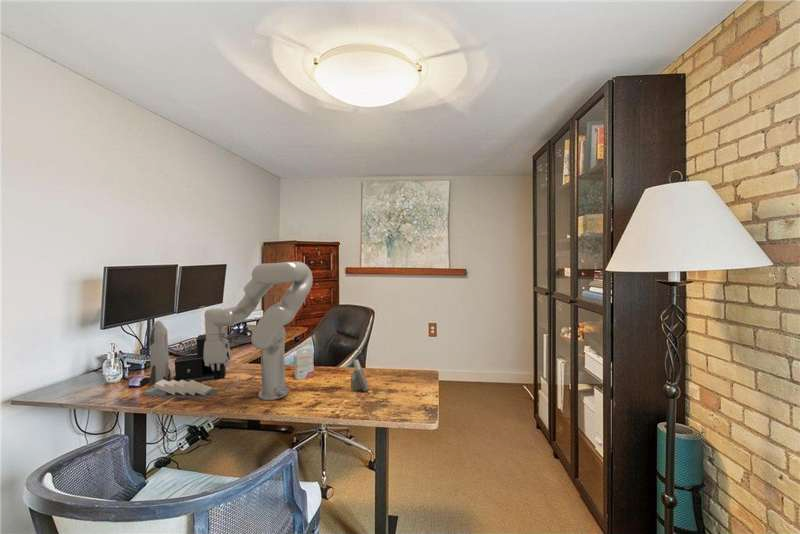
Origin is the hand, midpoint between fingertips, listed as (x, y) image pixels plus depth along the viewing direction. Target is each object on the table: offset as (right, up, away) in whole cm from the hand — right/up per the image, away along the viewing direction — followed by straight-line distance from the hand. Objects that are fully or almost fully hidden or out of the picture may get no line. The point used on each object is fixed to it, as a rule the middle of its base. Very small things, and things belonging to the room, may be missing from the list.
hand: (218, 378), depth 155 cm
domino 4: (-9, -6, +1) cm, 11 cm away
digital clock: (+62, -6, +7) cm, 63 cm away
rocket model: (-37, -7, +18) cm, 42 cm away
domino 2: (-18, -6, +1) cm, 19 cm away
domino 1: (-23, -6, +2) cm, 23 cm away
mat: (-12, -7, +1) cm, 14 cm away
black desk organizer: (-20, -7, +20) cm, 29 cm away
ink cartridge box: (+32, -6, +21) cm, 39 cm away
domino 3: (-14, -6, +1) cm, 15 cm away
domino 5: (-5, -6, +1) cm, 8 cm away
